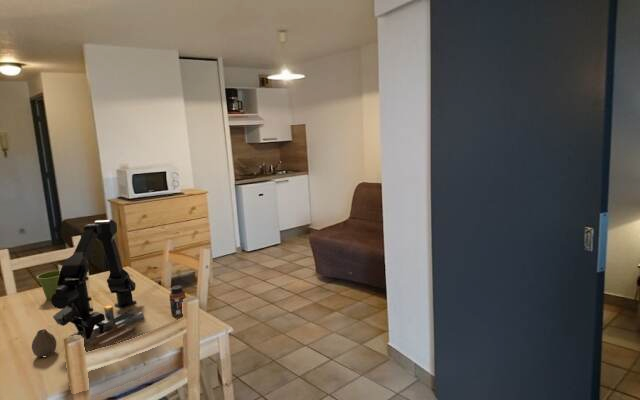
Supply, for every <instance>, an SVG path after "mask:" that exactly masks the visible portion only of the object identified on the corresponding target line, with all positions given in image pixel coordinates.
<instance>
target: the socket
mask: <svg viewBox="0 0 640 400" xmlns="http://www.w3.org/2000/svg"><path fill="white" fill-rule="evenodd" d="M143 319H145V316H144V312H142V311H139V312H137V313H135V309H133V308H131V309H127V310H126V311H124V312H122V313H119V314H117V315H114V320H115V324H113V320H112V319H109V318H106V316H105V320H104V321H102V322H100V323H98V324H95V325H96V326H101V325H103V329H102V332H103V333H105V332H107V331H109V330H112V329H114V328H116V327H118V326H120V325H122V324H126V327H129V326H130V325H133V324H135V323H137V322H139V321H141V320H143Z"/></svg>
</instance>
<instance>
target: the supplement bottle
mask: <svg viewBox="0 0 640 400" xmlns="http://www.w3.org/2000/svg"><path fill="white" fill-rule="evenodd" d="M184 298H186V291H184V290H183V288H182V286H181V285H174V286H172V287H171V292H170V293H169V302H170V303H169V304H170V312H171V316H172V317H181V316H183V315H182V302H183V299H184Z"/></svg>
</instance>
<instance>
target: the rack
mask: <svg viewBox="0 0 640 400" xmlns="http://www.w3.org/2000/svg"><path fill="white" fill-rule="evenodd" d="M136 334H137V329H136V327H135V326H134V327H133V326H132V327H131V328H128V327H127V326H126V324H122V325H120V326H118V327H116V328H114V329H112V330H109V331H107V332H105V333H103V334H101V335H99V336H97V337H94V338H92V339H90V341H89V345H90V347H92V346H93V348H94V349H97V348H102V347H106V346H109V345H112V344H114V345H116V344H117V343H116V342H118V341H120V340H122V341H124V340H125V338H126V339H128V338H130V337H132V336H134V335H136ZM123 339H124V340H123ZM120 342H121V341H120ZM115 343H116V344H115ZM118 343H119V342H118ZM112 346H113V345H112Z"/></svg>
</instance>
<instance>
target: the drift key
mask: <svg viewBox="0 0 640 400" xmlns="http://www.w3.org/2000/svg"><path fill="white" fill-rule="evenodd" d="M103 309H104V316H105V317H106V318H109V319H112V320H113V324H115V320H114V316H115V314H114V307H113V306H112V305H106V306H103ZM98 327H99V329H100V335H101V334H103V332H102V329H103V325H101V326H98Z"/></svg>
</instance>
